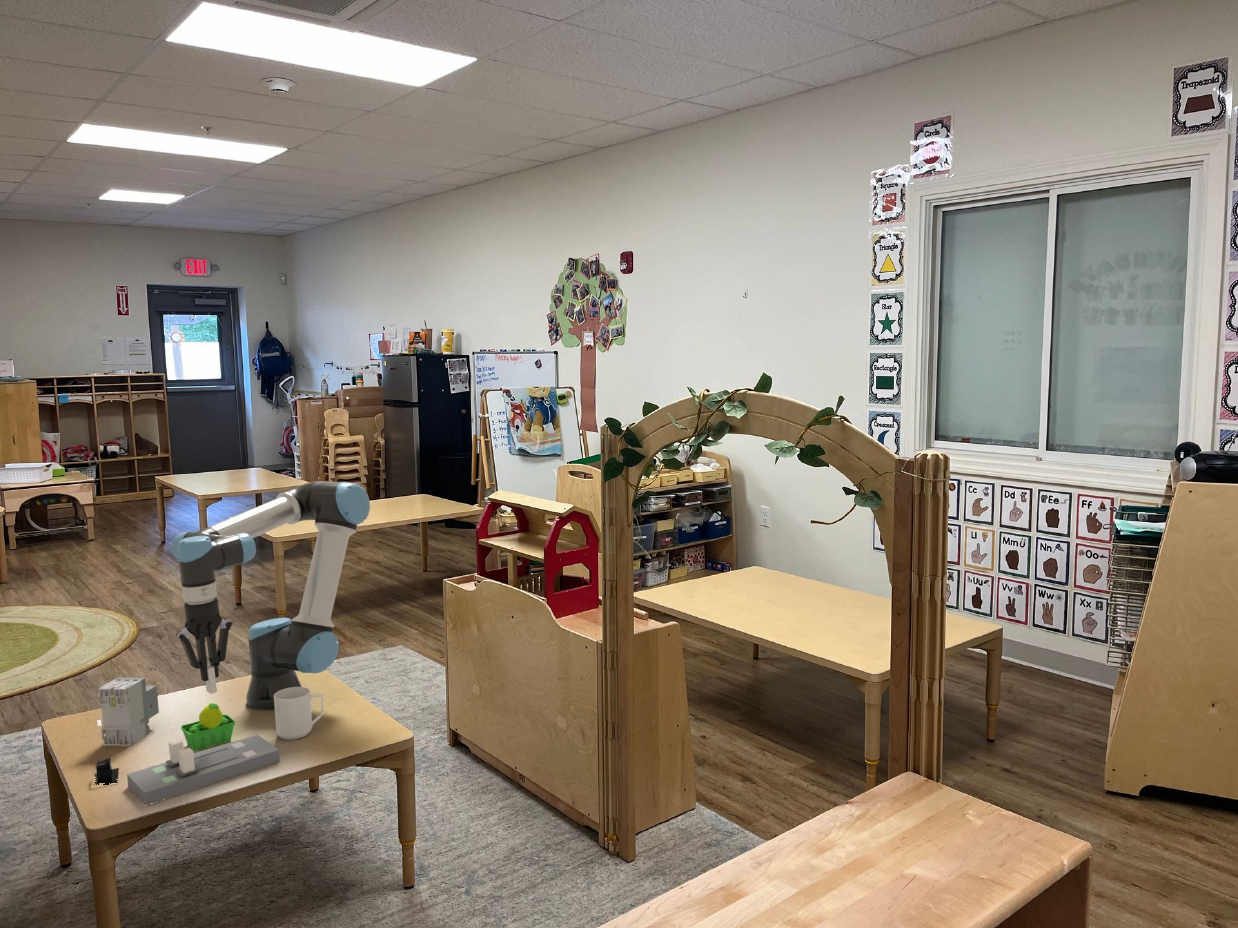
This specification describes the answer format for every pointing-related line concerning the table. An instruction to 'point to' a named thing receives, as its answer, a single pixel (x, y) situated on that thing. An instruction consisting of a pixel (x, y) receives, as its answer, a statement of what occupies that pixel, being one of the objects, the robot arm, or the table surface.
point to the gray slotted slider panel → (203, 769)
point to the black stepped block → (105, 772)
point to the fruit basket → (209, 728)
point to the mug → (294, 712)
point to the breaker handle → (174, 752)
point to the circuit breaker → (126, 710)
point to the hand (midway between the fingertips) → (211, 691)
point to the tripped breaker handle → (186, 762)
